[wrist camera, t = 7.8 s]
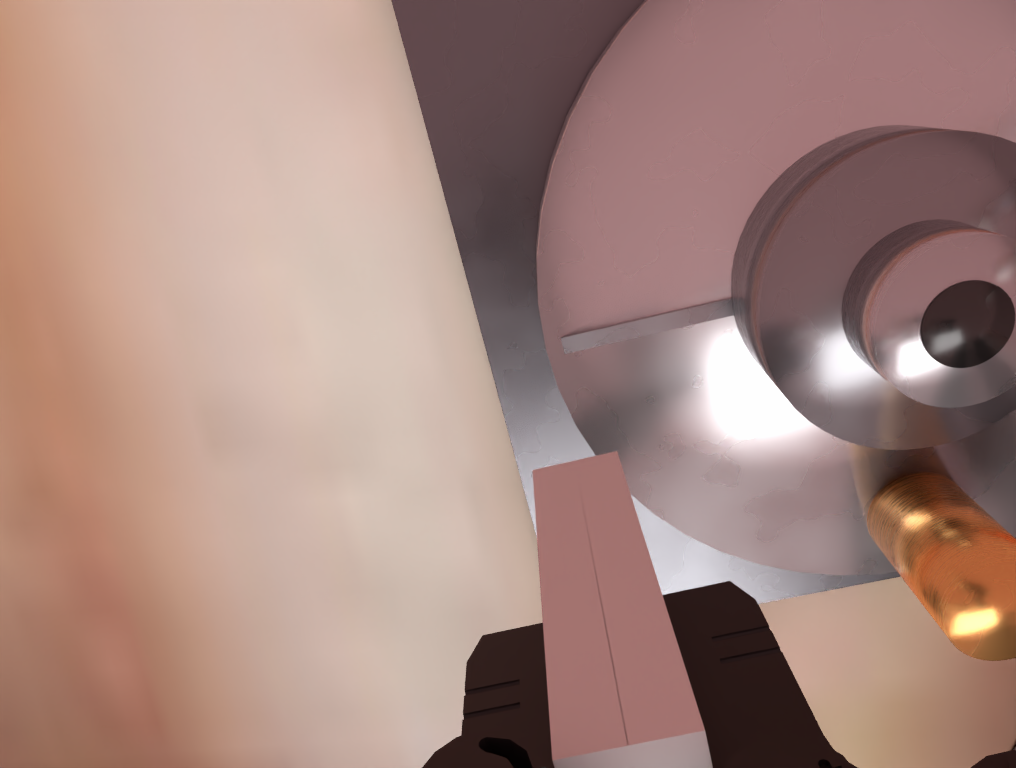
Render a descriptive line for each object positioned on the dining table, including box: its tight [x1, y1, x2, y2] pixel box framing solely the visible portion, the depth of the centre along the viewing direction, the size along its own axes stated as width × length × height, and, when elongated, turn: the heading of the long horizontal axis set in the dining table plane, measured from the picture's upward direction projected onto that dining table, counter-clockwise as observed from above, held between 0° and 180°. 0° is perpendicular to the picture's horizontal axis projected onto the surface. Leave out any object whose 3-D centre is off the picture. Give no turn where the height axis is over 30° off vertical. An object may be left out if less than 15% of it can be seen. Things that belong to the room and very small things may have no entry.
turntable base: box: [392, 0, 1016, 604], centre depth 25 cm, size 24×24×1 cm
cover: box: [731, 125, 1016, 450], centre depth 20 cm, size 8×8×5 cm
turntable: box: [536, 0, 1016, 661], centre depth 21 cm, size 20×20×7 cm
